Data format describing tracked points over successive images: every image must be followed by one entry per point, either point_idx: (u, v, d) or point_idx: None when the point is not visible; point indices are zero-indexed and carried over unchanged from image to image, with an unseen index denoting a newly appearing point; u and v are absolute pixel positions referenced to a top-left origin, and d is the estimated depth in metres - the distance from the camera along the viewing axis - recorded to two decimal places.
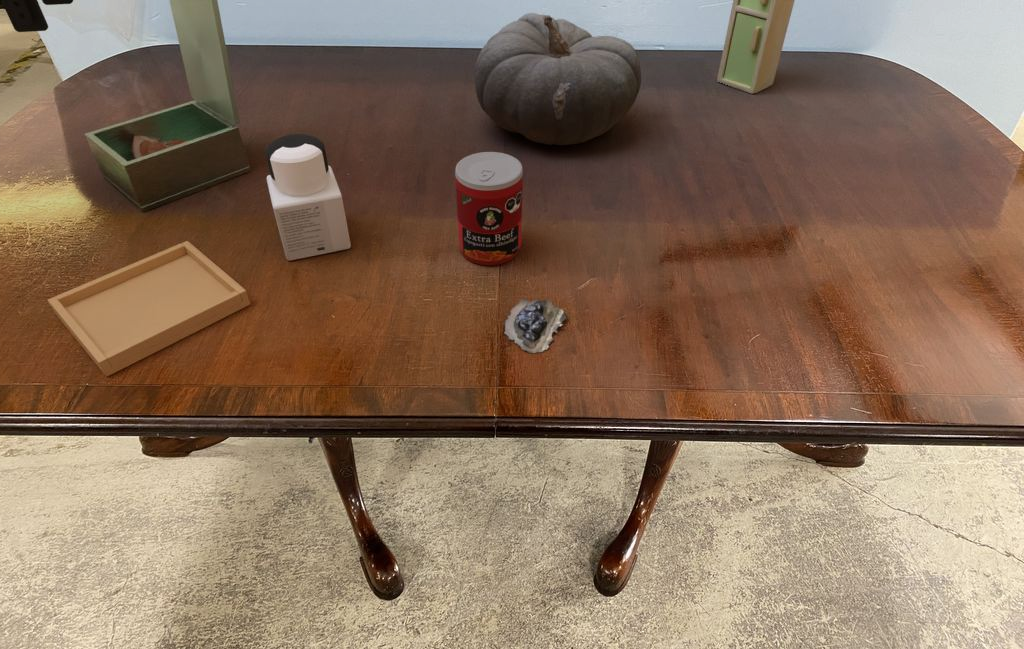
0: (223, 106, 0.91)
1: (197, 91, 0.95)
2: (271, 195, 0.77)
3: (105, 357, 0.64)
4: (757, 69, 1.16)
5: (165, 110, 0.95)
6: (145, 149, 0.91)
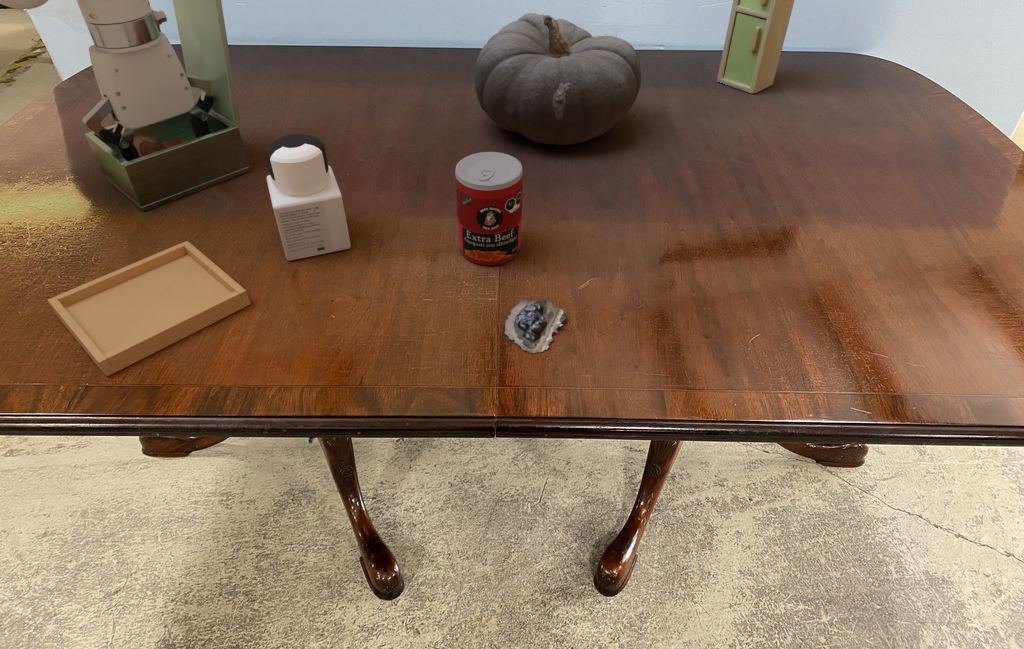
0: (223, 106, 0.91)
1: (197, 91, 0.95)
2: (271, 195, 0.77)
3: (105, 357, 0.64)
4: (757, 69, 1.16)
5: None
6: (145, 150, 0.91)
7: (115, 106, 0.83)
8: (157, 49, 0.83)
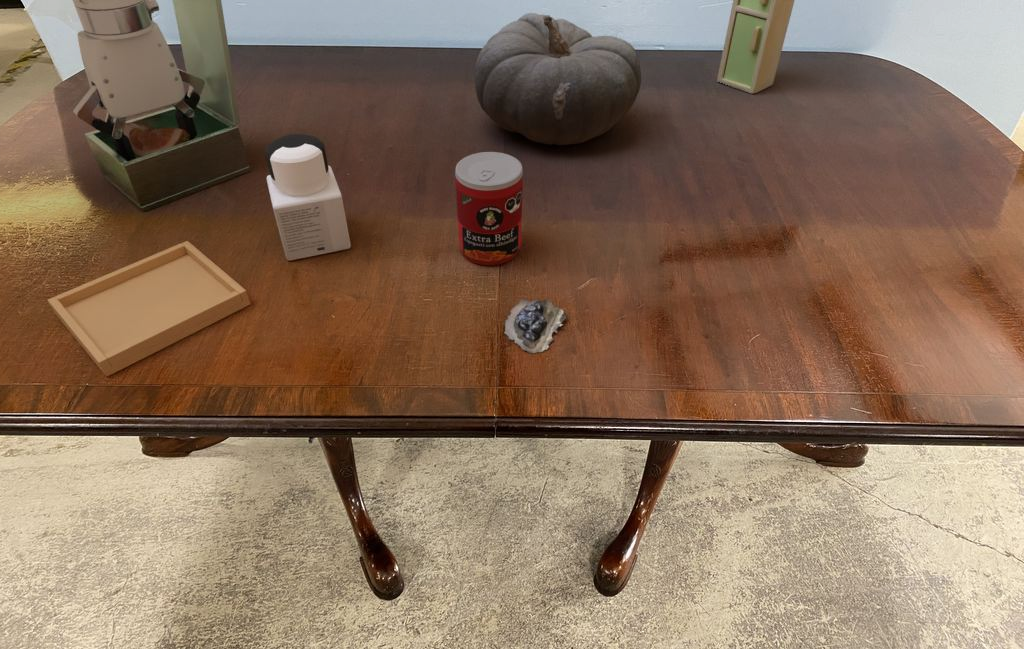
0: (223, 106, 0.91)
1: None
2: (271, 195, 0.77)
3: (105, 357, 0.64)
4: (757, 69, 1.16)
5: (165, 110, 0.95)
6: (135, 137, 0.90)
7: (102, 94, 0.82)
8: (148, 38, 0.82)
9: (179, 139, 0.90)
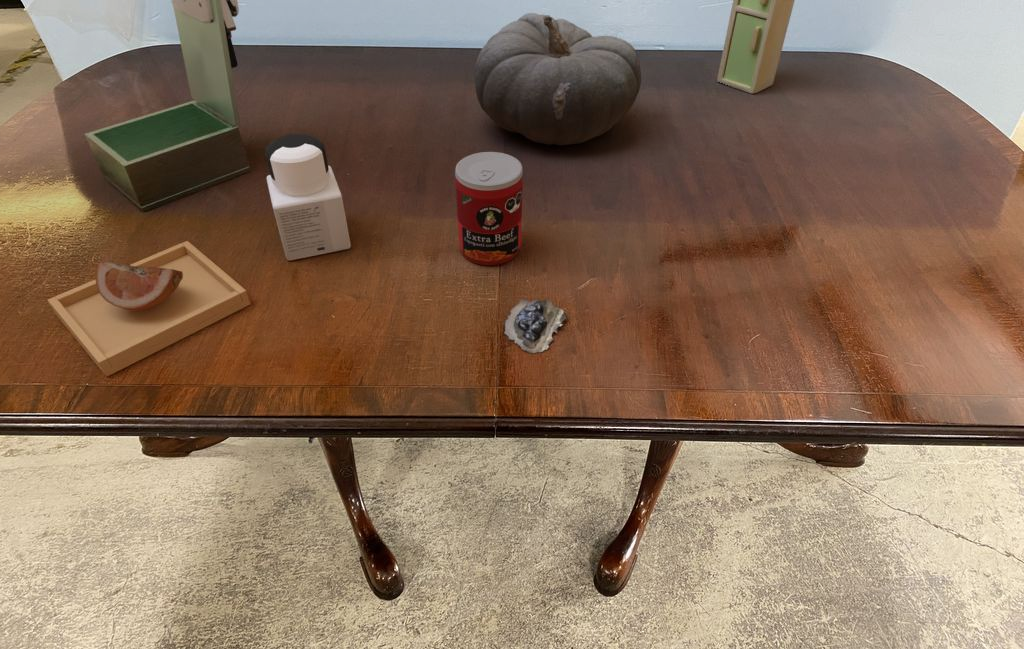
0: (223, 106, 0.91)
1: (197, 91, 0.95)
2: (271, 195, 0.77)
3: (105, 357, 0.64)
4: (757, 69, 1.16)
5: (165, 110, 0.95)
6: (113, 281, 0.69)
7: None
8: None
9: (169, 283, 0.69)
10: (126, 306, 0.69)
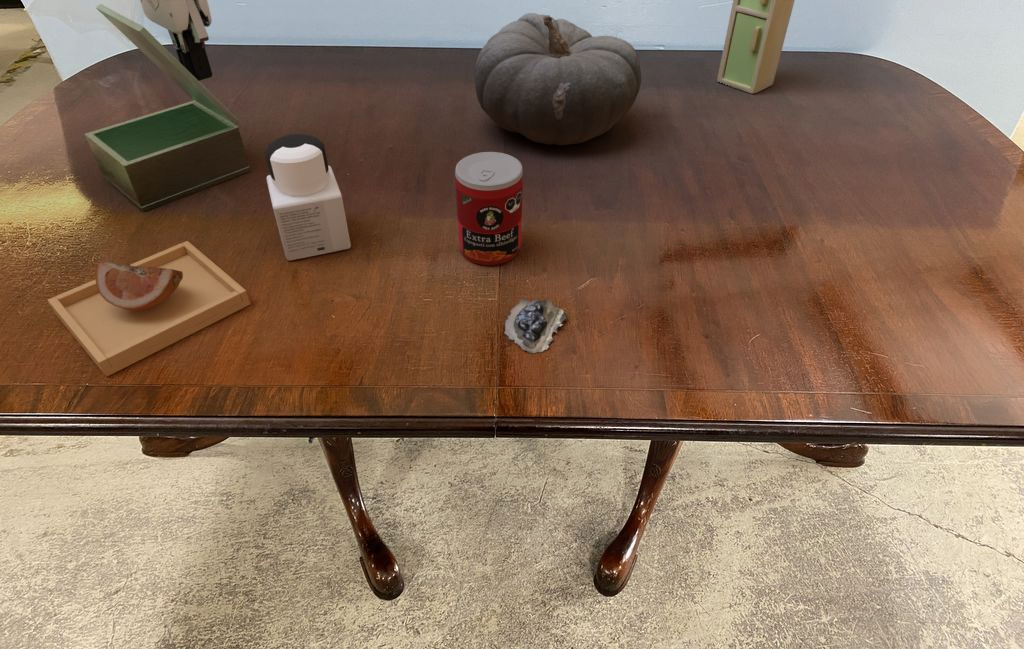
0: (217, 111, 0.91)
1: (192, 96, 0.95)
2: (271, 195, 0.77)
3: (105, 357, 0.64)
4: (757, 69, 1.16)
5: (165, 110, 0.95)
6: (113, 281, 0.69)
7: None
8: None
9: (169, 283, 0.69)
10: (126, 306, 0.69)
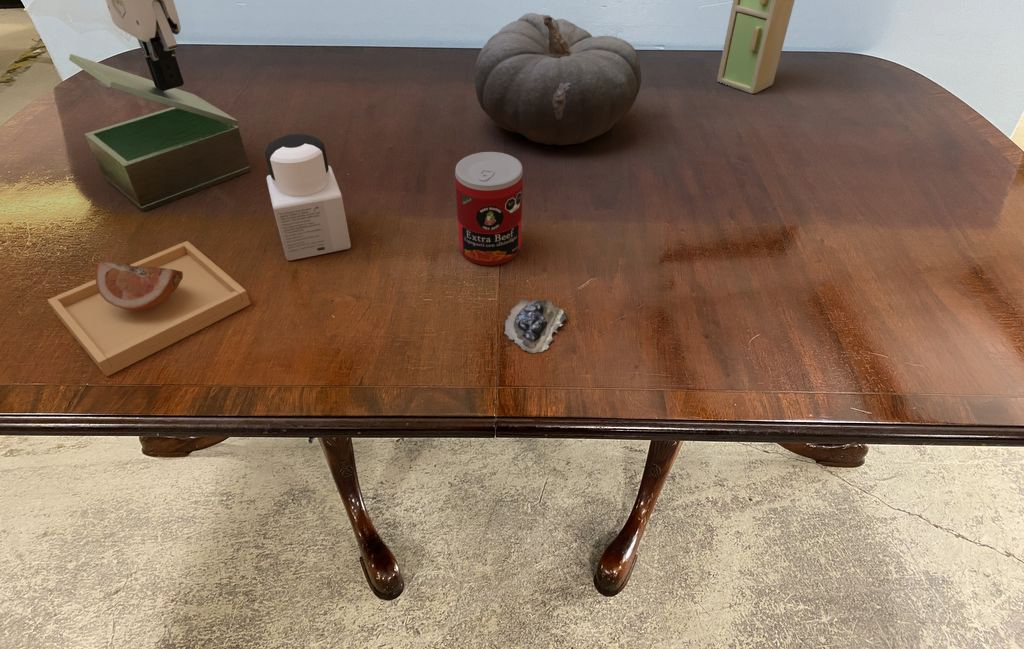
0: None
1: None
2: (271, 195, 0.77)
3: (105, 357, 0.64)
4: (757, 69, 1.16)
5: (165, 110, 0.95)
6: (113, 281, 0.69)
7: (173, 5, 0.80)
8: None
9: (169, 283, 0.69)
10: (126, 306, 0.69)
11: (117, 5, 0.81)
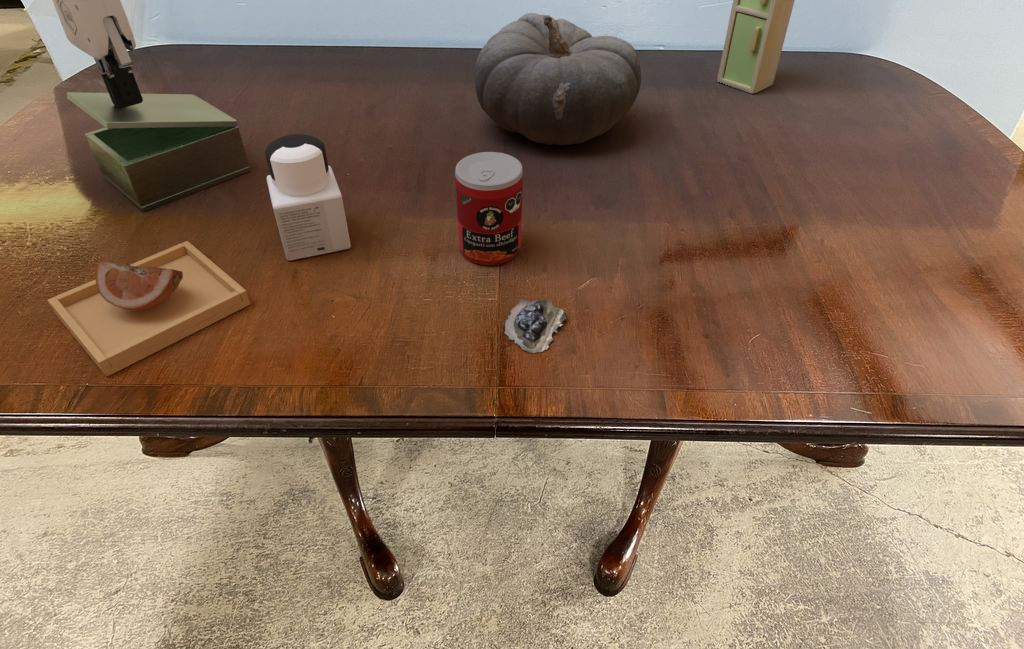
0: None
1: None
2: (271, 195, 0.77)
3: (105, 357, 0.64)
4: (757, 69, 1.16)
5: None
6: (113, 281, 0.69)
7: (126, 21, 0.77)
8: None
9: (169, 283, 0.69)
10: (126, 306, 0.69)
11: (69, 21, 0.78)
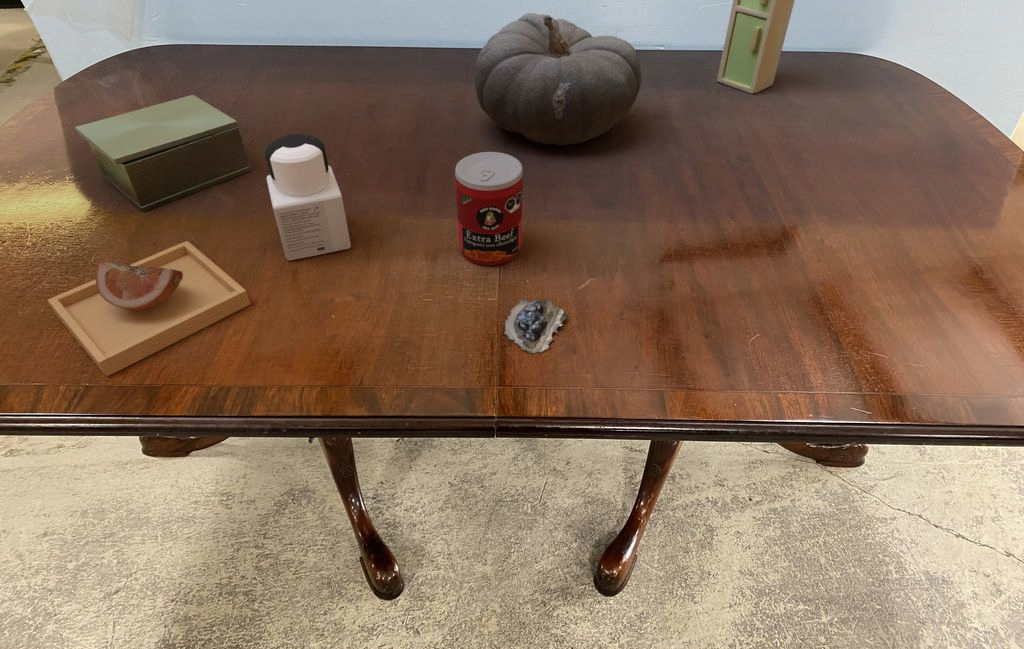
0: None
1: None
2: (271, 195, 0.77)
3: (105, 357, 0.64)
4: (757, 69, 1.16)
5: None
6: (113, 281, 0.69)
7: None
8: None
9: (169, 283, 0.69)
10: (126, 306, 0.69)
11: None
